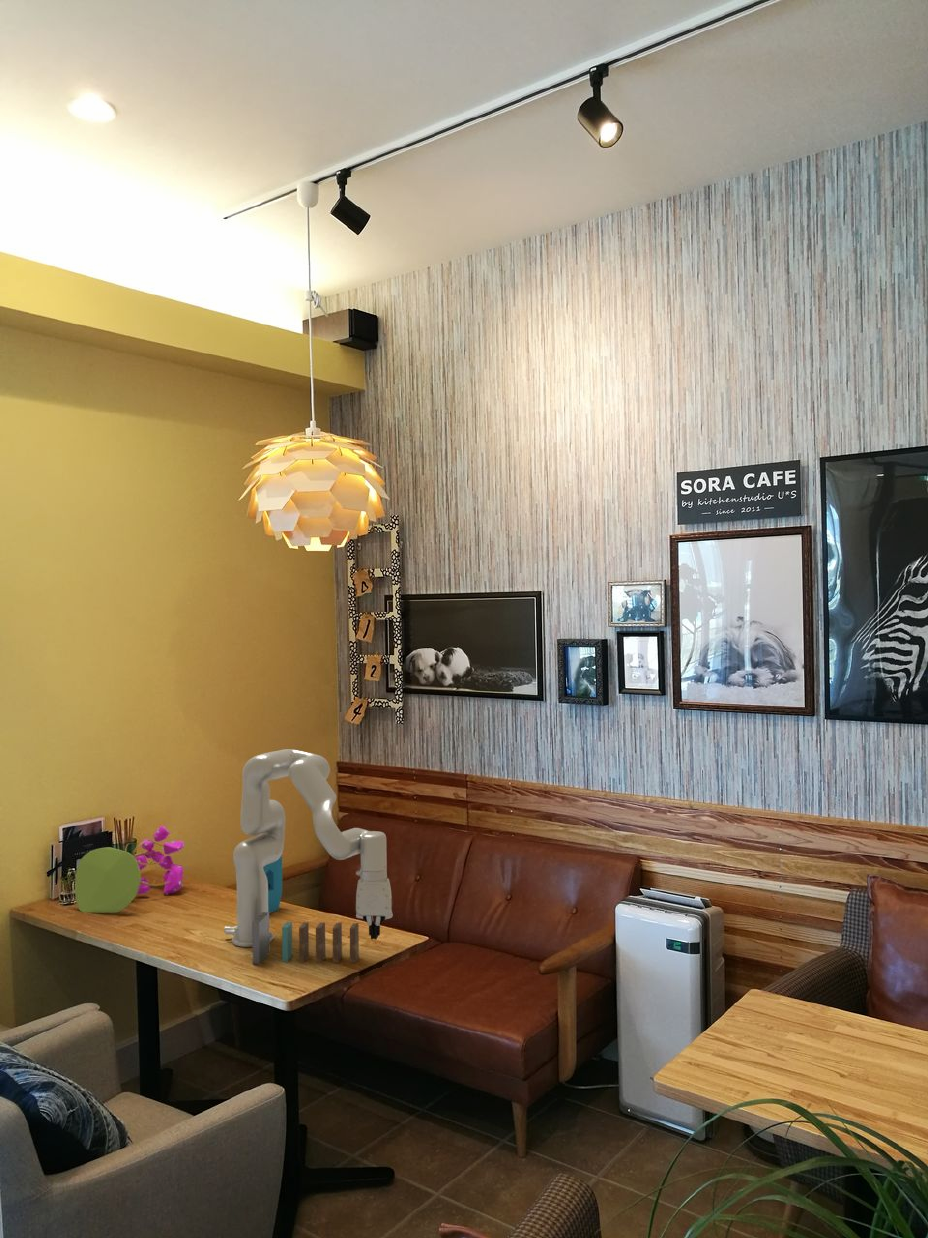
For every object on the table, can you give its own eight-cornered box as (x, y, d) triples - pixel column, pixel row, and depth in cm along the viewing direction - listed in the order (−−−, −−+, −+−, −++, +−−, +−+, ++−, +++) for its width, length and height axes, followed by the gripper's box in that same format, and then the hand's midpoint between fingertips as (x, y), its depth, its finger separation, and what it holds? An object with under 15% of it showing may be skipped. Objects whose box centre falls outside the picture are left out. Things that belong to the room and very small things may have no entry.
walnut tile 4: (299, 962, 277) (298, 927, 277) (303, 956, 282) (303, 922, 282) (304, 962, 277) (304, 927, 277) (308, 956, 282) (308, 922, 282)
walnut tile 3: (316, 962, 276) (315, 928, 276) (320, 956, 281) (319, 922, 281) (321, 962, 276) (321, 928, 276) (325, 956, 281) (325, 922, 281)
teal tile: (292, 955, 282) (291, 922, 282) (287, 961, 277) (287, 927, 277) (287, 955, 282) (286, 922, 282) (282, 961, 277) (282, 927, 277)
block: (255, 917, 320) (254, 857, 320) (246, 914, 323) (245, 855, 323) (283, 908, 329) (283, 850, 329) (274, 906, 332) (274, 848, 332)
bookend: (252, 964, 275) (252, 922, 275) (263, 952, 285) (262, 912, 285) (259, 964, 275) (259, 922, 275) (269, 952, 285) (269, 912, 285)
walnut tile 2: (333, 962, 276) (332, 928, 276) (336, 956, 281) (336, 922, 281) (338, 962, 276) (337, 928, 276) (342, 956, 281) (341, 922, 281)
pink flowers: (81, 821, 334) (146, 816, 366) (57, 900, 332) (124, 888, 365) (148, 849, 323) (209, 842, 355) (123, 931, 321) (186, 916, 354)
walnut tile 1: (350, 963, 276) (349, 928, 276) (353, 957, 281) (353, 923, 281) (355, 963, 275) (355, 928, 275) (358, 957, 280) (358, 923, 280)
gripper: (345, 878, 274) (346, 942, 274) (397, 878, 273) (398, 942, 273) (351, 871, 282) (351, 933, 282) (401, 872, 281) (401, 934, 281)
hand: (374, 937), depth 278 cm, fingers closed
